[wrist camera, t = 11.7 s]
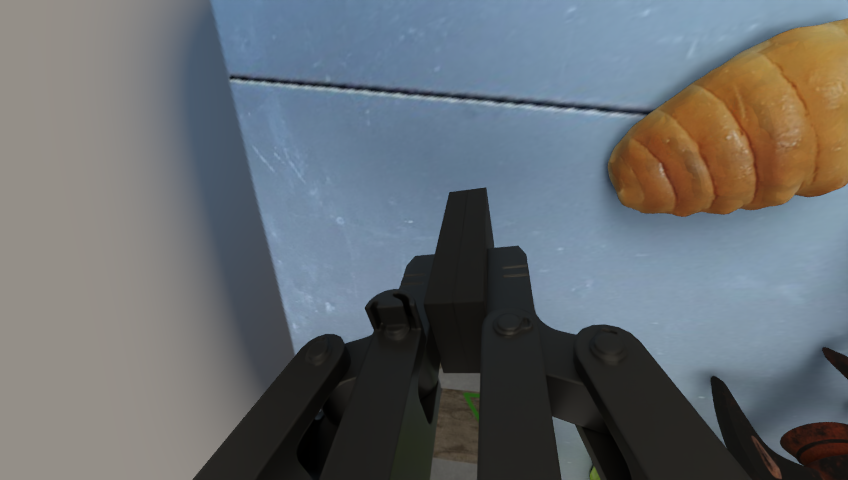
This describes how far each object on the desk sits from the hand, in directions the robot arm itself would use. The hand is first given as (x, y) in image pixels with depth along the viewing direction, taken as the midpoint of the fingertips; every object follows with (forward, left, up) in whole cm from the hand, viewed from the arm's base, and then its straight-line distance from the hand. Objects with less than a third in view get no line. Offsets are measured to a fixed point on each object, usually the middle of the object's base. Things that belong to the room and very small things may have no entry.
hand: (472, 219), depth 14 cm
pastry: (0, +12, -6) cm, 13 cm away
